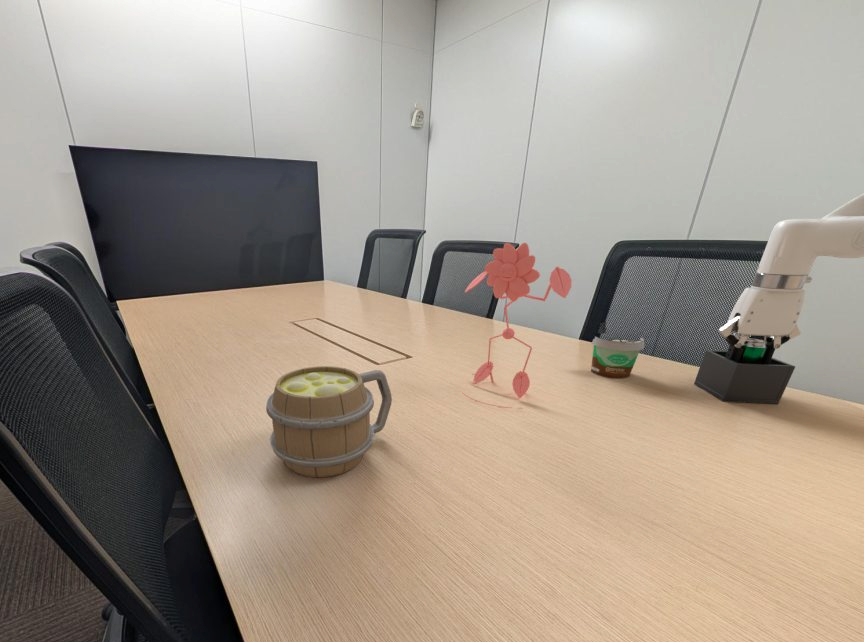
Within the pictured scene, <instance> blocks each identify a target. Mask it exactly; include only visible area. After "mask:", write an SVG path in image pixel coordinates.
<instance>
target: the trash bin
mask: <svg viewBox="0 0 864 642" xmlns="http://www.w3.org/2000/svg"><path fill="white" fill-rule="evenodd" d="M727 351H728V350H714V349H713V350H710V349H708V350H707V349H705V351H704V354H703V357H702V359H701V363H700V365H699V368H698V371H697V373H696V377H695V380H694V385H695V386H697V387H698V388H700V389H701V390H703V391H704V392H707V393H708V394H710V395H711V396H713V397H715V398H717V399H718V400H720V401H722V402H725V403H728V402H729V403H748V404H749V403H750V404H766V405H779V403H780V401H781V400H782V397H783V395H784V393H785V391H786V388H787V386H788V384H789V382H790V380H791V378H792V375H793V373H794V372H795V369H796V366H795V365H792V364H791V363H788V362H784V361H782V360H780V359H777V358H774V357H772V358H771V360H770V362H769V364H739V363H737V362H735V361H732V360H730V359H728V358H726V357H725V356H726V353H727Z"/></svg>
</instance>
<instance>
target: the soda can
mask: <svg viewBox="0 0 864 642" xmlns="http://www.w3.org/2000/svg"><path fill="white" fill-rule="evenodd" d="M741 348H743V349H744V350H743V353H742V355H741V358H740V360H739V364H761V362H762V360H763V358H764V355H765V353H766V350H767V348H768V347H767V342H766V341H764V339H758V338H751V337H748V339H747V340H746V341H745V343H744V344H743V345H742V346H741Z"/></svg>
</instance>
